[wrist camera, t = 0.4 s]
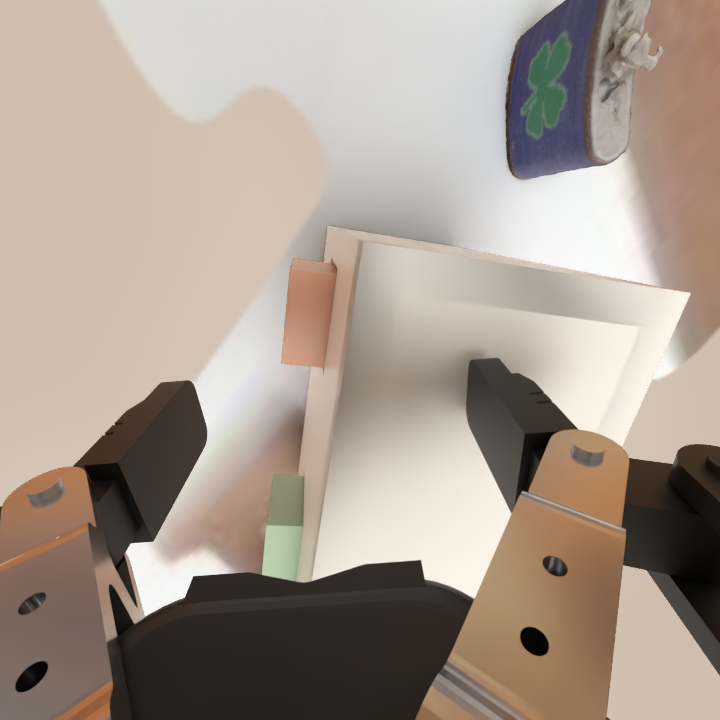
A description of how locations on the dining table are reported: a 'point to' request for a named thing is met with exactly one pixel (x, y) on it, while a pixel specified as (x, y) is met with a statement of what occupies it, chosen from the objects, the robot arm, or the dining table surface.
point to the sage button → (284, 527)
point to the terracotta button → (308, 312)
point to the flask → (575, 86)
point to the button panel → (452, 393)
